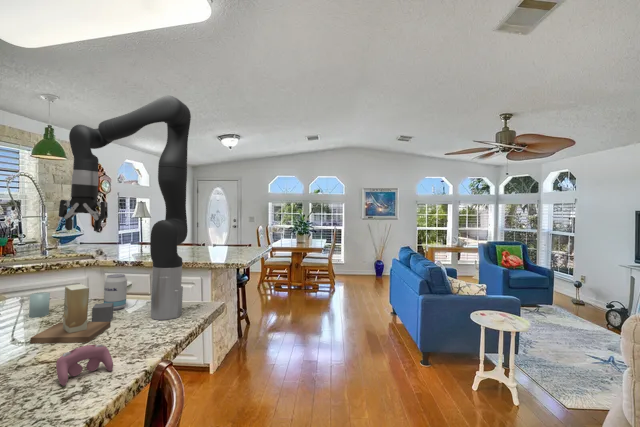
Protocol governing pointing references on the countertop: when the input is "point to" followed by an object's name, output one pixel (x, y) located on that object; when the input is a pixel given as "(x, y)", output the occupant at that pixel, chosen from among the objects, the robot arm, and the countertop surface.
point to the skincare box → (75, 308)
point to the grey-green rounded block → (39, 304)
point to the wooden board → (62, 336)
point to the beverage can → (115, 290)
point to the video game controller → (91, 352)
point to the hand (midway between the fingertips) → (82, 230)
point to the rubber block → (102, 312)
